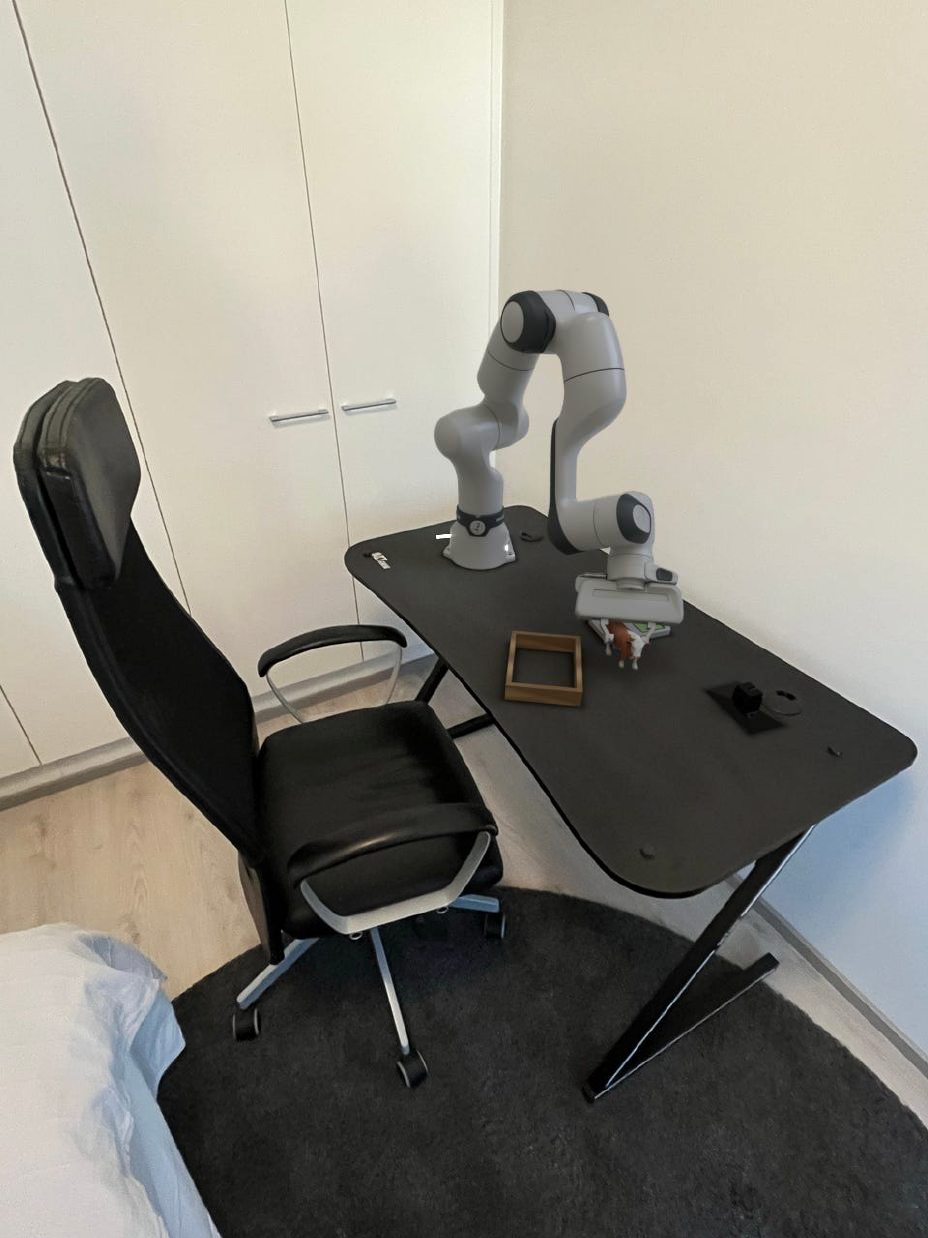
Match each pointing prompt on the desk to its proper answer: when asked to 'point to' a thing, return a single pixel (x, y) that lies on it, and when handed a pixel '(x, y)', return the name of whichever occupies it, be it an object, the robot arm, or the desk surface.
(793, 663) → the desk surface
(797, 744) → the desk surface
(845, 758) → the desk surface
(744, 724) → the build plate
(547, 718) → the desk surface
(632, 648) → the bull figurine
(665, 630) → the handheld gaming console
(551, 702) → the crate
